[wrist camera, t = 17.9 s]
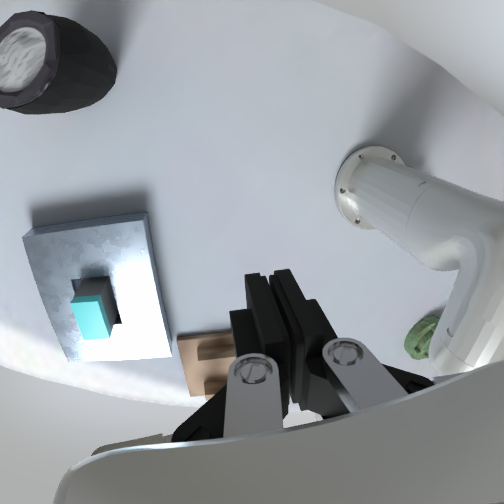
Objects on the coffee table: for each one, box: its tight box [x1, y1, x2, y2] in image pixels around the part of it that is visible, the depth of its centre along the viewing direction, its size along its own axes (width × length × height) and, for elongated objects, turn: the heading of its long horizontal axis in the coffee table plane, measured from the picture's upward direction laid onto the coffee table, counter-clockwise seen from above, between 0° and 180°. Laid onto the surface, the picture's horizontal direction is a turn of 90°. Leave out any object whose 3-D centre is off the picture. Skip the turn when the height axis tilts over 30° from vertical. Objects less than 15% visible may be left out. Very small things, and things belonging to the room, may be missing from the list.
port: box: [22, 212, 172, 361], centre depth 43 cm, size 18×22×4 cm
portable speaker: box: [0, 10, 117, 114], centre depth 23 cm, size 9×9×20 cm
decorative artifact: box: [404, 316, 440, 360], centre depth 58 cm, size 10×7×10 cm
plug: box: [70, 276, 118, 340], centre depth 41 cm, size 4×6×8 cm, turn 2°
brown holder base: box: [177, 331, 236, 400], centre depth 52 cm, size 12×14×4 cm
